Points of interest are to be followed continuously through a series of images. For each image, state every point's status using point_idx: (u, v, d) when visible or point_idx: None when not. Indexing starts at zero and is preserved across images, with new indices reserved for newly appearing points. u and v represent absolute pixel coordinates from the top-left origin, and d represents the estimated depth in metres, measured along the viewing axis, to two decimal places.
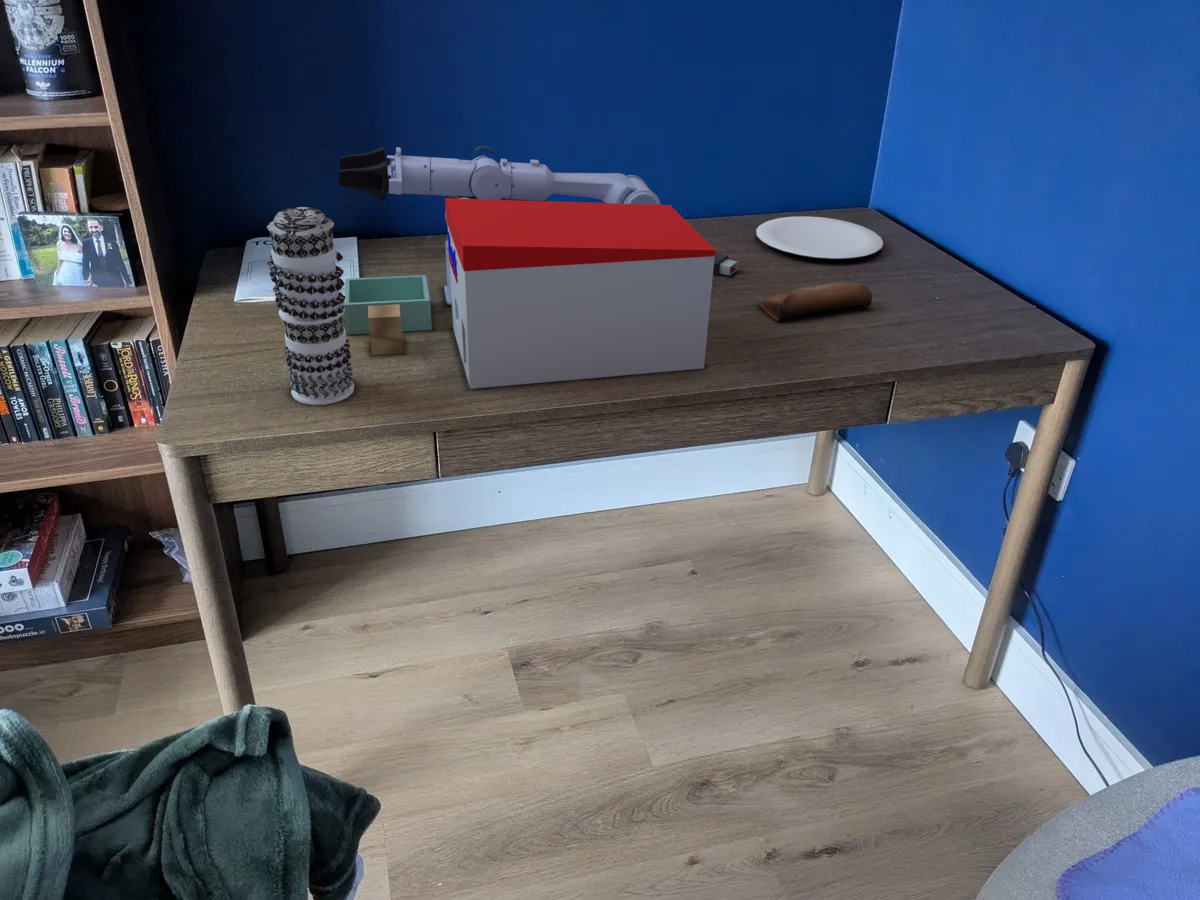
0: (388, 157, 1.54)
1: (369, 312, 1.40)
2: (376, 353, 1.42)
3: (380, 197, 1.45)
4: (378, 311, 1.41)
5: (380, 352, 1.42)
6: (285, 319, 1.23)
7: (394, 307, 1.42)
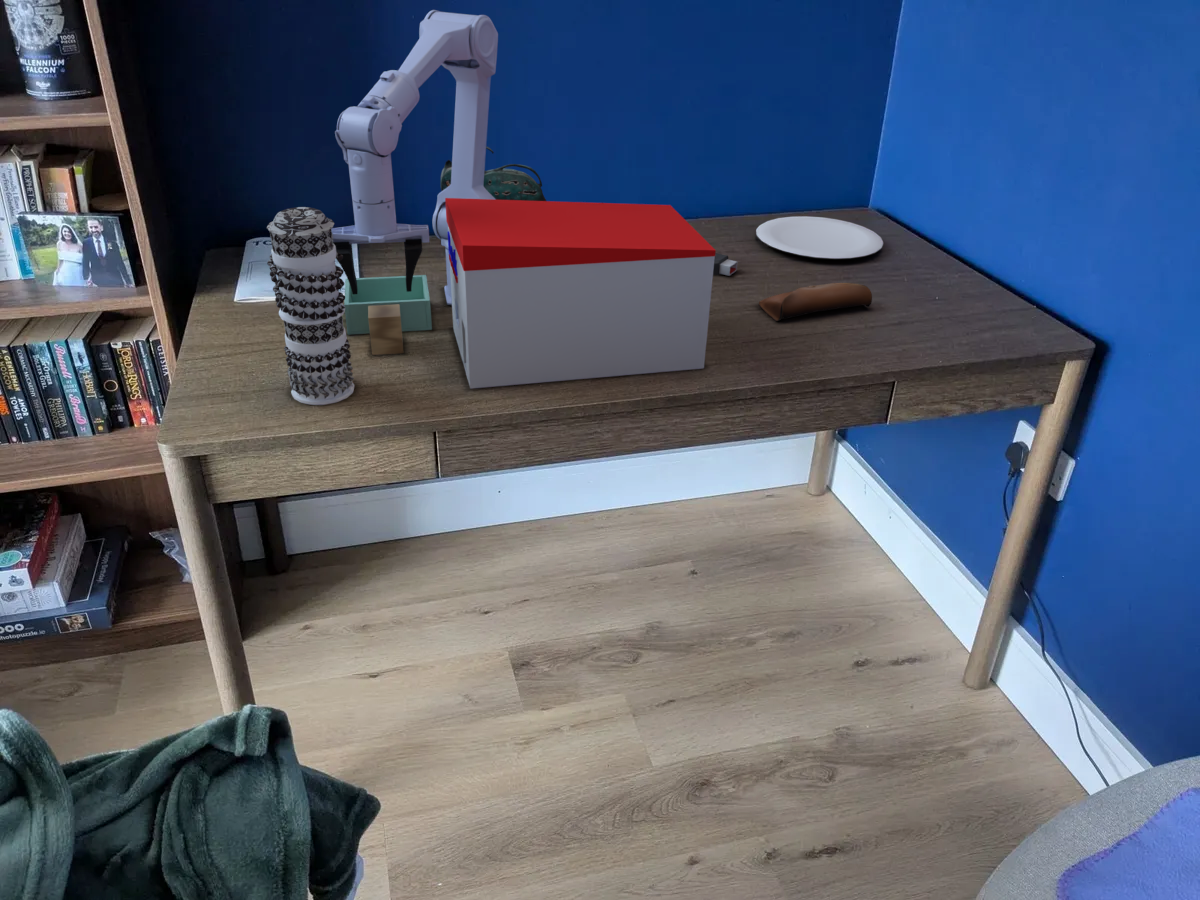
0: None
1: (369, 312, 1.40)
2: (376, 353, 1.42)
3: None
4: (378, 311, 1.41)
5: (380, 352, 1.42)
6: (285, 319, 1.23)
7: (394, 307, 1.42)
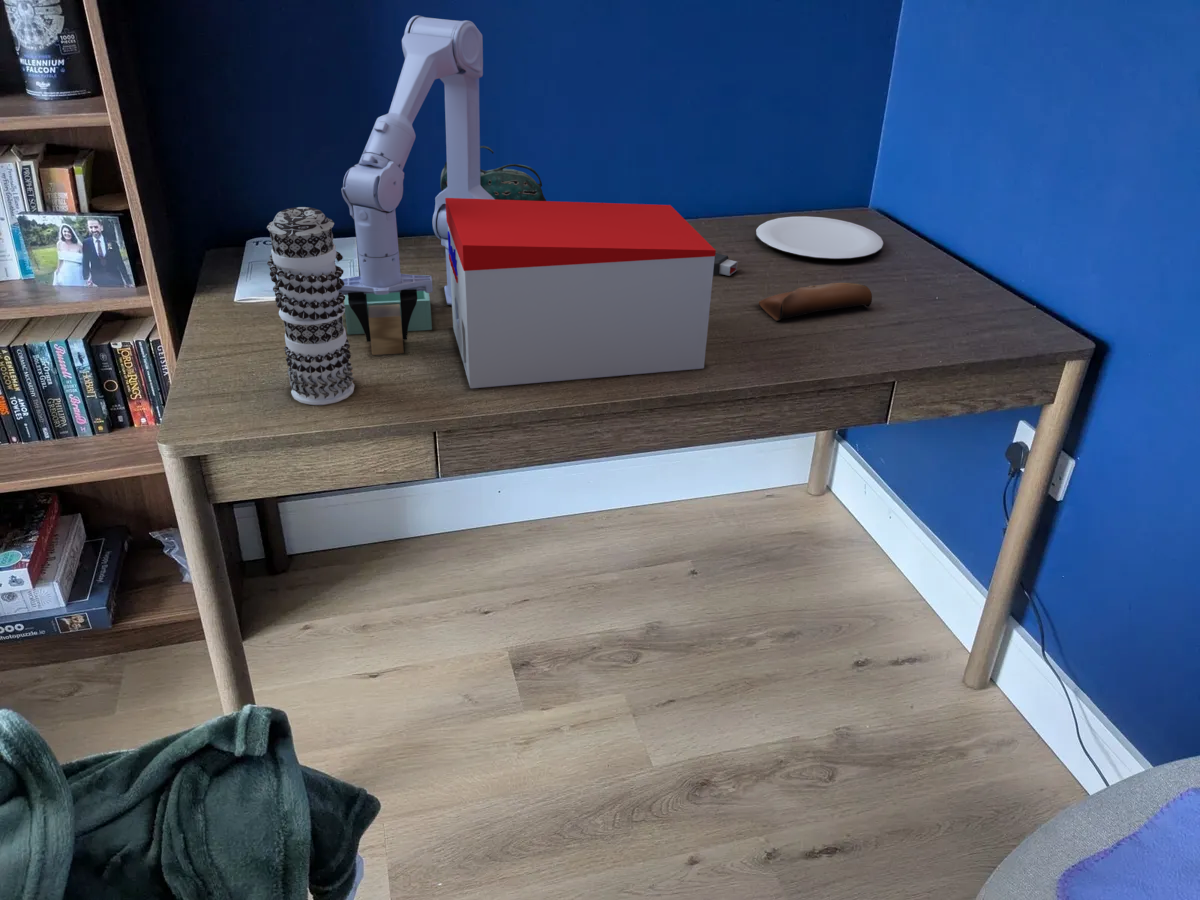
0: None
1: (369, 312, 1.40)
2: (377, 353, 1.42)
3: None
4: (379, 311, 1.41)
5: (381, 352, 1.42)
6: (285, 319, 1.23)
7: (394, 307, 1.42)
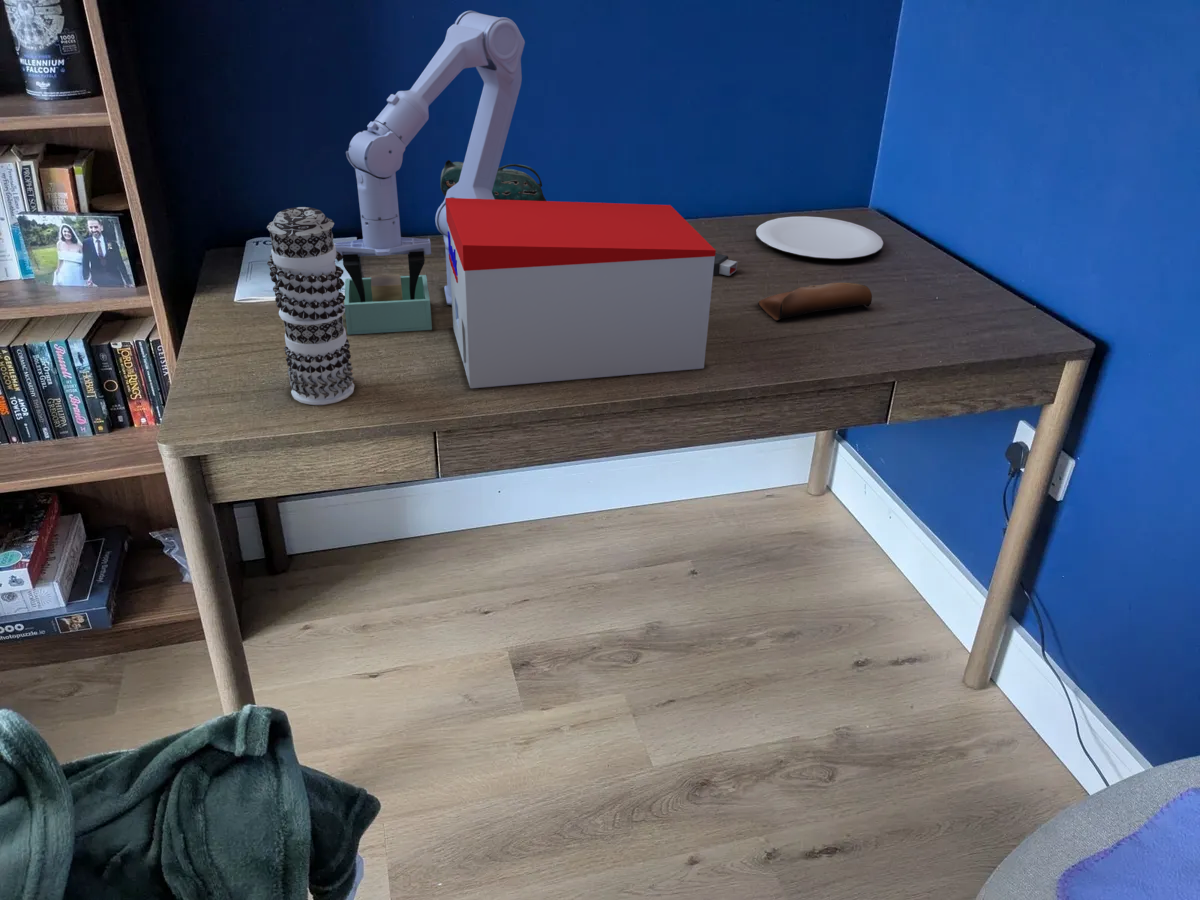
0: None
1: (372, 281, 1.49)
2: None
3: None
4: (381, 280, 1.50)
5: None
6: (285, 319, 1.23)
7: (395, 277, 1.51)
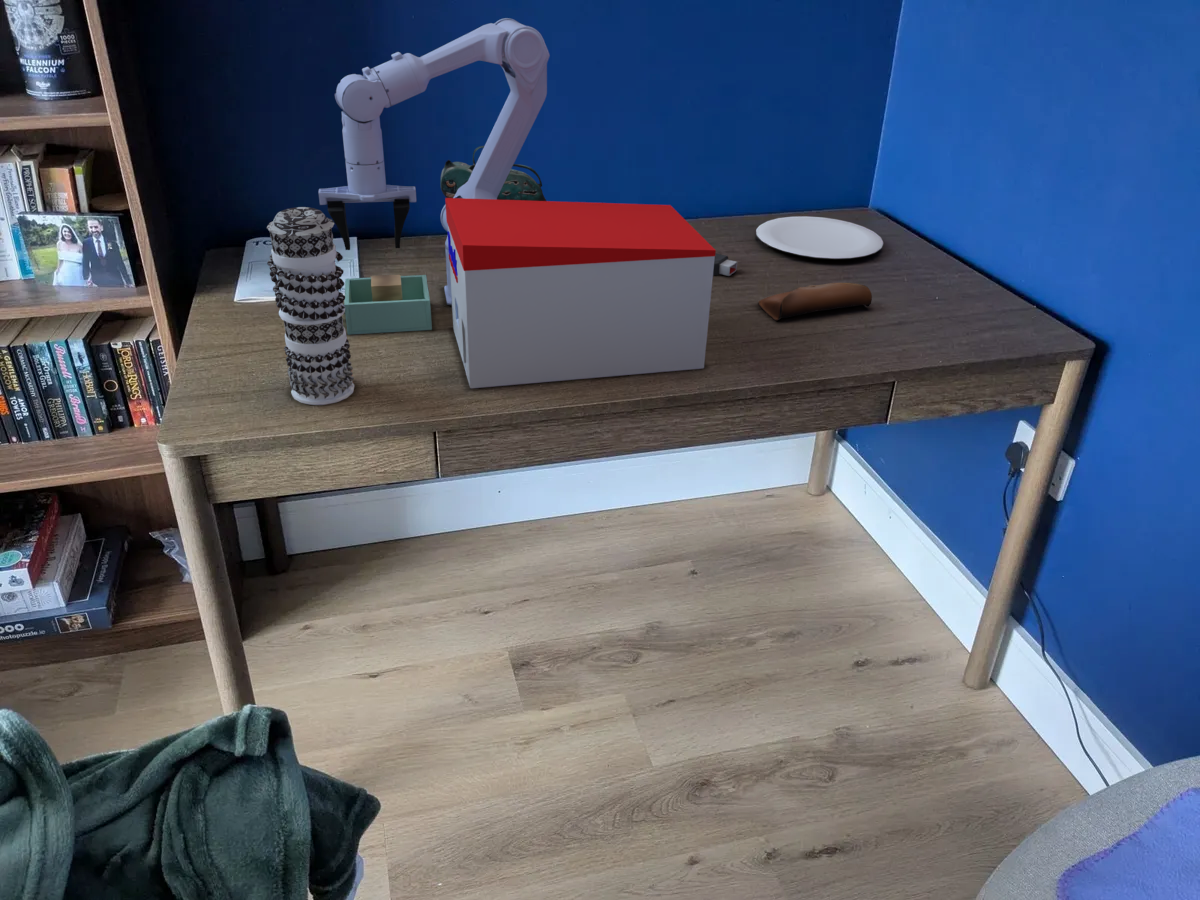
0: (326, 203, 1.46)
1: (372, 281, 1.49)
2: None
3: None
4: (381, 280, 1.50)
5: None
6: (285, 319, 1.23)
7: (395, 277, 1.51)
